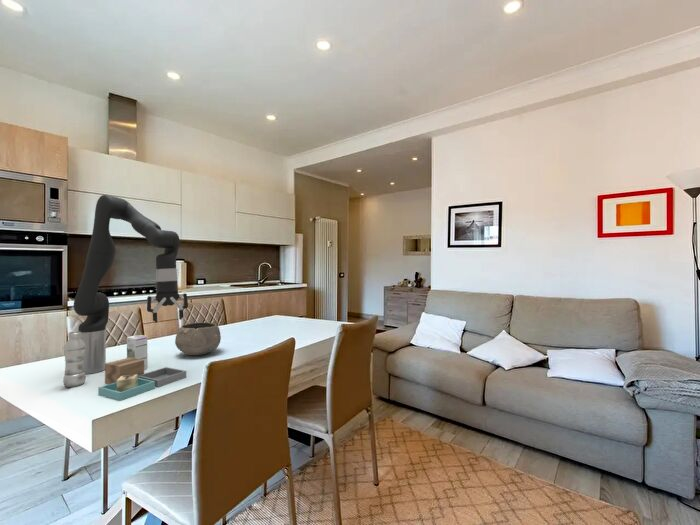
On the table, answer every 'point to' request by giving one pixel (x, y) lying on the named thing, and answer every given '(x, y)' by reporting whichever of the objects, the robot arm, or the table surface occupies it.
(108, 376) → the walnut stand
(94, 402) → the table surface
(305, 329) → the table surface
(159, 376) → the gray bin
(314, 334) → the table surface
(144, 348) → the syrup box
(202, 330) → the clay pot
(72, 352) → the plastic bottle
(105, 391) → the teal bin
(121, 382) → the letter cube
